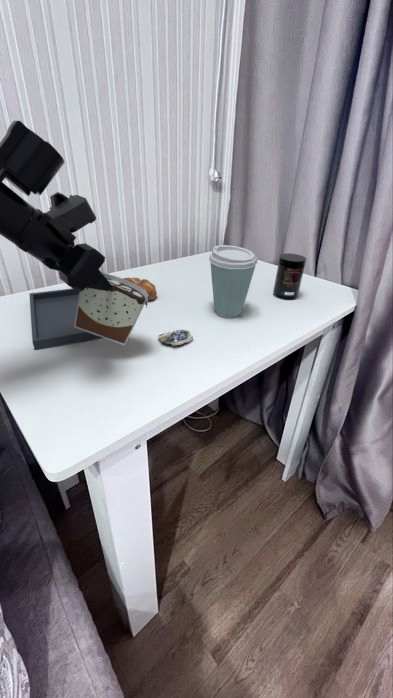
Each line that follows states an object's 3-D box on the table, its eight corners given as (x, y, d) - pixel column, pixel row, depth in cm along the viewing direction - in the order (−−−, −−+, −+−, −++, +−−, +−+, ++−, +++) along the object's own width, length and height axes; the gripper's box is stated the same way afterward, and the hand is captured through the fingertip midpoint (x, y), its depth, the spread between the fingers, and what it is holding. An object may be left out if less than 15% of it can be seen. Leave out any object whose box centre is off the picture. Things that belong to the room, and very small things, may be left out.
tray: (34, 350, 63) (32, 341, 62) (31, 300, 81) (29, 293, 80) (121, 334, 69) (120, 326, 68) (100, 292, 87) (99, 285, 86)
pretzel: (166, 294, 87) (166, 280, 85) (140, 308, 80) (139, 294, 78) (132, 283, 93) (131, 270, 91) (103, 296, 85) (102, 282, 83)
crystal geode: (152, 342, 67) (151, 334, 66) (171, 326, 73) (171, 318, 72) (181, 351, 64) (181, 343, 63) (199, 333, 70) (199, 326, 69)
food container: (137, 337, 65) (154, 290, 62) (132, 348, 60) (150, 297, 56) (76, 315, 64) (90, 265, 60) (65, 324, 58) (80, 269, 55)
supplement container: (292, 290, 93) (300, 253, 88) (301, 300, 88) (310, 261, 82) (269, 290, 92) (275, 253, 87) (277, 300, 87) (284, 261, 81)
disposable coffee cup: (250, 305, 84) (258, 245, 76) (249, 325, 75) (259, 259, 67) (208, 301, 85) (212, 241, 77) (203, 320, 76) (207, 255, 68)
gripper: (81, 183, 40) (159, 260, 52) (33, 169, 52) (105, 234, 64) (26, 258, 39) (117, 318, 51) (-10, 226, 51) (71, 280, 63)
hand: (102, 283), depth 57 cm, fingers closed on food container, 5 cm apart
